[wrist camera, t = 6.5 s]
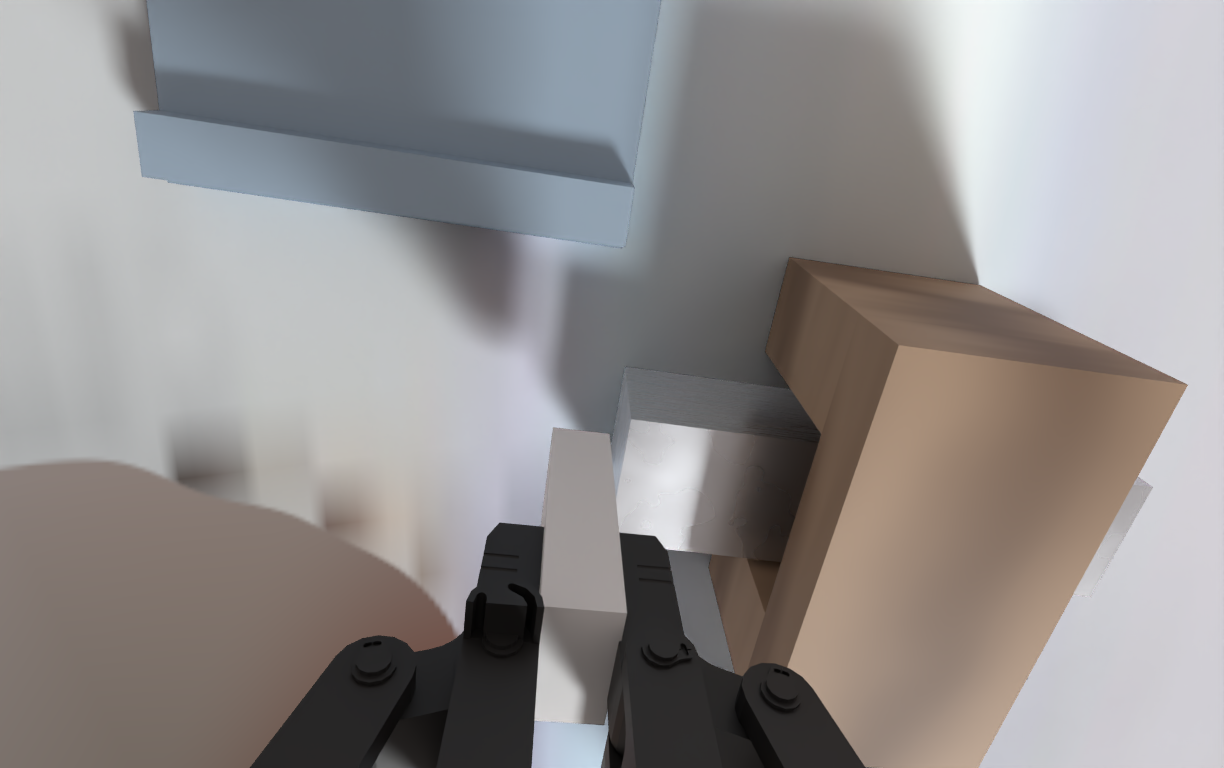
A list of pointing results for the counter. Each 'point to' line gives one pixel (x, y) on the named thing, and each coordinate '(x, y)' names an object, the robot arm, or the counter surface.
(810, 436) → the shaft
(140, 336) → the counter surface
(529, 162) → the cradle
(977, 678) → the bearing block
